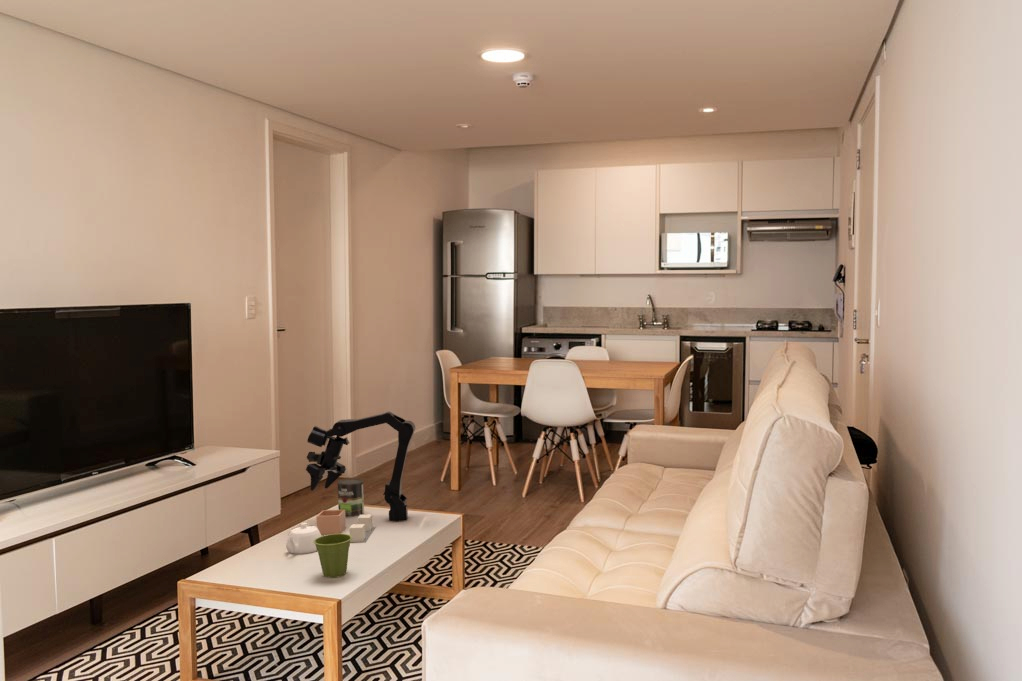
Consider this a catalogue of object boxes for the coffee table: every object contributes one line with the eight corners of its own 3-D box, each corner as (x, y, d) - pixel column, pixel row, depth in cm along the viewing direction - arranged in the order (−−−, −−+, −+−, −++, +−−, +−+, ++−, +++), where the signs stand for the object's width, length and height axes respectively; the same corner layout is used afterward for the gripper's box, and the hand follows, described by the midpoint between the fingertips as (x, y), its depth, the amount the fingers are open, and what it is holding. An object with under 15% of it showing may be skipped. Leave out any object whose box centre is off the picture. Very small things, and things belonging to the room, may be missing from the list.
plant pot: (337, 565, 260) (335, 531, 259) (361, 572, 252) (359, 537, 252) (307, 575, 251) (305, 540, 250) (331, 583, 243) (329, 546, 242)
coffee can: (356, 520, 314) (355, 484, 313) (333, 519, 317) (332, 483, 317) (369, 513, 324) (367, 479, 323) (346, 512, 327) (345, 478, 326)
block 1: (365, 537, 285) (364, 524, 285) (362, 541, 281) (362, 527, 281) (352, 538, 286) (352, 524, 285) (350, 542, 281) (349, 527, 281)
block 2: (372, 527, 298) (372, 514, 298) (370, 531, 294) (369, 517, 294) (360, 527, 299) (360, 514, 298) (358, 531, 294) (357, 517, 294)
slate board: (376, 529, 299) (376, 526, 299) (365, 545, 280) (365, 542, 280) (357, 530, 300) (357, 527, 300) (345, 546, 280) (345, 542, 280)
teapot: (307, 562, 264) (306, 532, 263) (273, 561, 266) (272, 531, 266) (333, 544, 283) (332, 516, 283) (301, 543, 286) (300, 515, 285)
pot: (346, 530, 300) (345, 509, 299) (340, 537, 291) (339, 515, 291) (323, 531, 300) (322, 510, 300) (317, 538, 291) (316, 516, 291)
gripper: (330, 442, 319) (316, 479, 320) (302, 444, 302) (288, 482, 303) (352, 453, 315) (338, 490, 316) (325, 455, 298) (310, 494, 298)
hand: (318, 489), depth 308 cm, fingers open, 9 cm apart
